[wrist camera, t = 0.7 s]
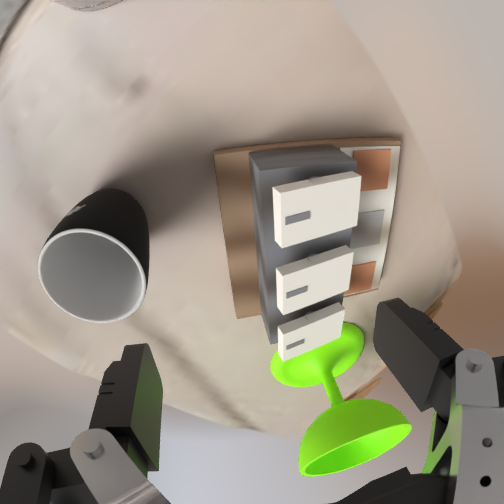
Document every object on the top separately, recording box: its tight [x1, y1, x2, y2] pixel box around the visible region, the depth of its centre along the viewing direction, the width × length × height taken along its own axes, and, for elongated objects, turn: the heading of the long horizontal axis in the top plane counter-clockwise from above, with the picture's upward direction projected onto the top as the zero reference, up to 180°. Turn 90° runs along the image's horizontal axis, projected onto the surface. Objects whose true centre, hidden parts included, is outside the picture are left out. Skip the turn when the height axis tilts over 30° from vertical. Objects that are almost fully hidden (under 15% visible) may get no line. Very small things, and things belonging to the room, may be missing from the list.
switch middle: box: [276, 245, 354, 315], centre depth 27 cm, size 4×7×2 cm, turn 94°
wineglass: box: [270, 322, 412, 477], centre depth 41 cm, size 16×16×18 cm
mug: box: [38, 189, 149, 323], centre depth 26 cm, size 12×9×10 cm
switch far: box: [278, 302, 345, 362], centre depth 31 cm, size 4×7×2 cm, turn 94°
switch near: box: [272, 171, 361, 248], centre depth 24 cm, size 4×7×2 cm, turn 94°
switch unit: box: [213, 137, 401, 344], centre depth 32 cm, size 20×19×6 cm
